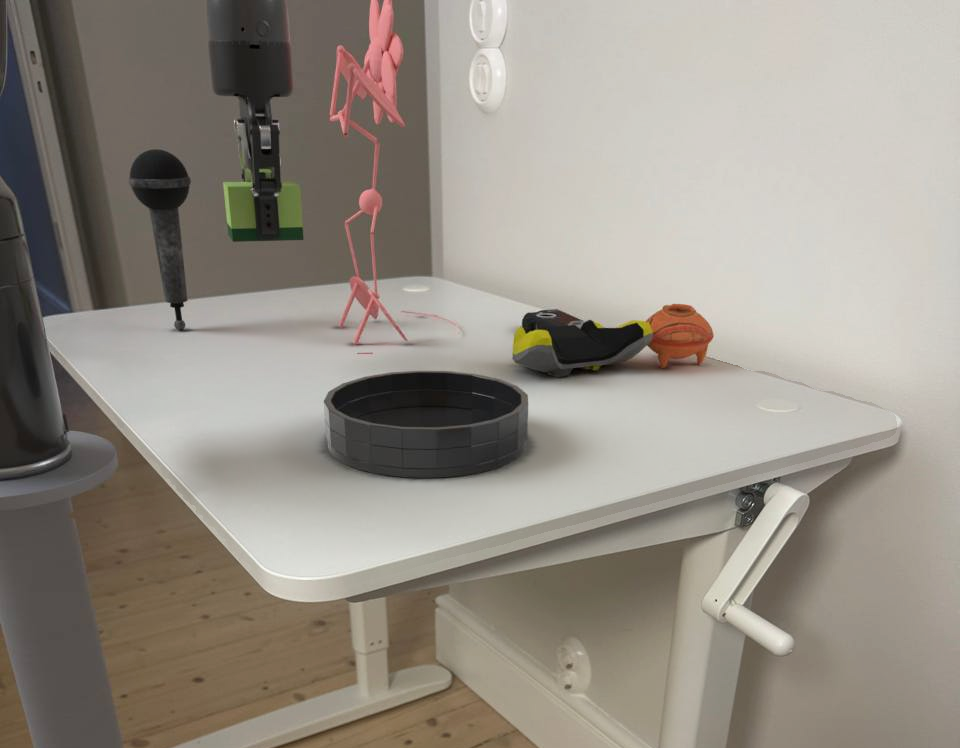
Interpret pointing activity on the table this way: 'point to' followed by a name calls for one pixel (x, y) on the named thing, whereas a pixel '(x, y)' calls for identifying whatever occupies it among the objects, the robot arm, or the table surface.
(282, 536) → the table surface
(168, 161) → the microphone
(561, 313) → the camera
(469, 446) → the pan
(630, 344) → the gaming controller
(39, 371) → the robot arm
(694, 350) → the pot
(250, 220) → the sponge
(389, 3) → the figurine
